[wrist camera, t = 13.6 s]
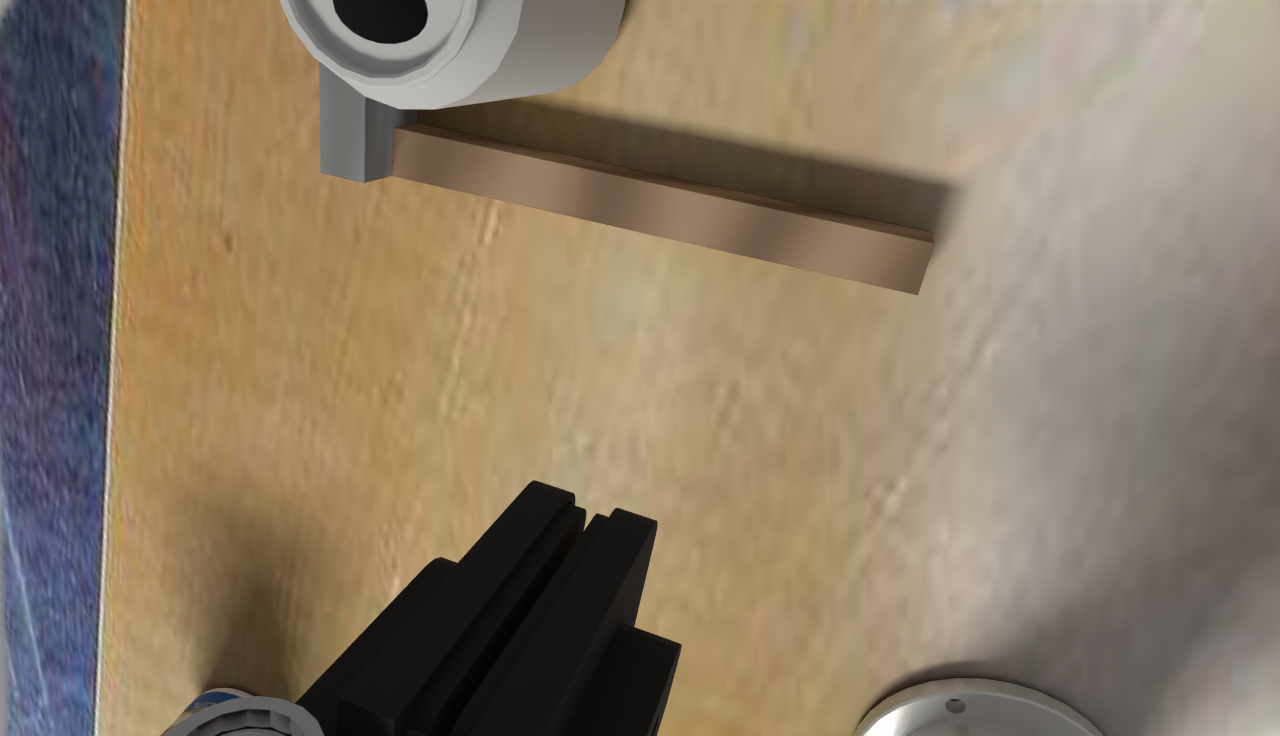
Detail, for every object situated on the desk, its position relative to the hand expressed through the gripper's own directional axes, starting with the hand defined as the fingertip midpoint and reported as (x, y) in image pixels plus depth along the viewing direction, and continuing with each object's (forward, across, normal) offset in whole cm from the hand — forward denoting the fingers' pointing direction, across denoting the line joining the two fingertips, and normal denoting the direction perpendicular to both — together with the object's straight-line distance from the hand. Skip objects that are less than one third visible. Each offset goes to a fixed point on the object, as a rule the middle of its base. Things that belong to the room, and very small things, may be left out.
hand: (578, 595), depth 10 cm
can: (+24, +12, -7) cm, 28 cm away
